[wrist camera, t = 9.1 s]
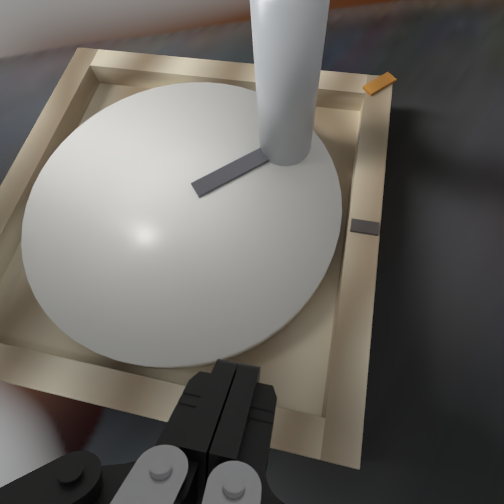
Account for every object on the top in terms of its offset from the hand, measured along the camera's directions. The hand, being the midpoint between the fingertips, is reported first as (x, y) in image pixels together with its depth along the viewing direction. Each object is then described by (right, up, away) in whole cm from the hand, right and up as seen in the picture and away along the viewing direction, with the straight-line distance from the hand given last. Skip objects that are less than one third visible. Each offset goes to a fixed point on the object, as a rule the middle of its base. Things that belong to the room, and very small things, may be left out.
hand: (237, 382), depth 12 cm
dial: (-3, +7, +9) cm, 12 cm away
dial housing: (-3, +6, +11) cm, 13 cm away
